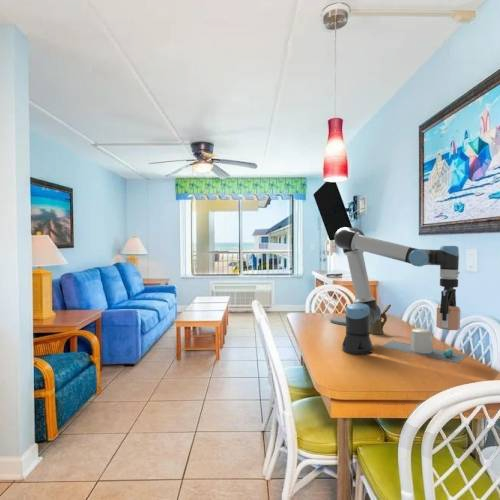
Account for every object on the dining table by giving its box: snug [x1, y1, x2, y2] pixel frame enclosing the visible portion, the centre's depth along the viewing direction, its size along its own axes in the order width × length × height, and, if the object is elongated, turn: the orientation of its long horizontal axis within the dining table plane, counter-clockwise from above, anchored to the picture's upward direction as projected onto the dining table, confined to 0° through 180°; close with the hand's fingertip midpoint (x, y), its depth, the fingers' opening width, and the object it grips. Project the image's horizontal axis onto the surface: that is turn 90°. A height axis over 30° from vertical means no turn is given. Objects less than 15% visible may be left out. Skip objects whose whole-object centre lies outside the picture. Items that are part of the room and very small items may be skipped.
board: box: [379, 340, 468, 364], centre depth 171 cm, size 16×36×2 cm, turn 44°
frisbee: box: [330, 316, 346, 326], centre depth 239 cm, size 20×27×3 cm
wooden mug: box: [369, 304, 392, 335], centre depth 211 cm, size 9×14×18 cm, turn 75°
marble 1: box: [443, 350, 451, 357], centre depth 161 cm, size 3×3×3 cm
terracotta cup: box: [436, 304, 461, 331], centre depth 162 cm, size 9×9×10 cm
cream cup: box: [410, 327, 434, 353], centre depth 171 cm, size 9×9×10 cm
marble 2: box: [445, 348, 454, 355], centre depth 163 cm, size 3×3×3 cm
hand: (448, 325), depth 162 cm, fingers closed on terracotta cup, 9 cm apart
